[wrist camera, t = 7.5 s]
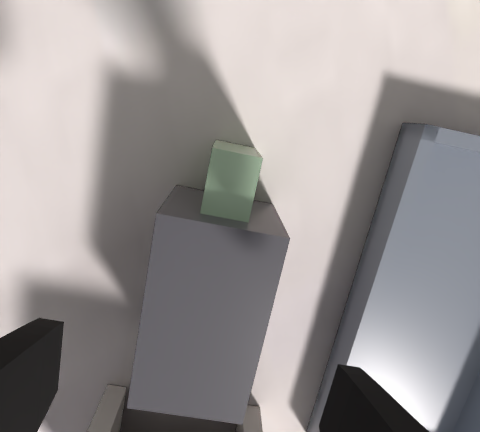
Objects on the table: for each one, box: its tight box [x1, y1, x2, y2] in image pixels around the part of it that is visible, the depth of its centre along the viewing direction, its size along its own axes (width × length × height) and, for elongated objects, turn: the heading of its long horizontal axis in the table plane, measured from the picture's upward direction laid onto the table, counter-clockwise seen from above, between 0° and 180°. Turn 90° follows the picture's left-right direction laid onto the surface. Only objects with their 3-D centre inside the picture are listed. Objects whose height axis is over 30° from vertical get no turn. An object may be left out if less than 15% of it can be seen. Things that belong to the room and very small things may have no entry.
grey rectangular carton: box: [127, 140, 290, 425], centre depth 16 cm, size 10×5×5 cm, turn 168°
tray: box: [306, 123, 480, 432], centre depth 18 cm, size 9×18×2 cm, turn 168°
